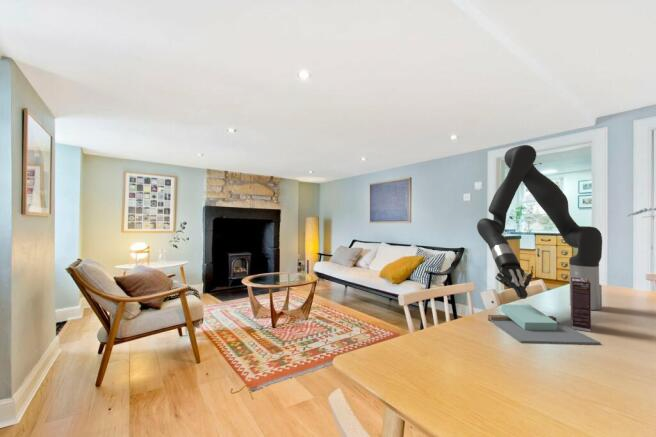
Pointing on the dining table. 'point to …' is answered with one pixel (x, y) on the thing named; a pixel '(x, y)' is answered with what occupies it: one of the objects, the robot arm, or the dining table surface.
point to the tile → (528, 317)
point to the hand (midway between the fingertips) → (524, 297)
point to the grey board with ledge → (541, 332)
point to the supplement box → (581, 304)
